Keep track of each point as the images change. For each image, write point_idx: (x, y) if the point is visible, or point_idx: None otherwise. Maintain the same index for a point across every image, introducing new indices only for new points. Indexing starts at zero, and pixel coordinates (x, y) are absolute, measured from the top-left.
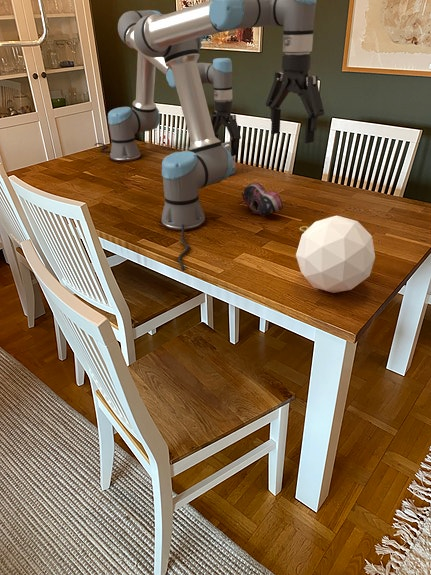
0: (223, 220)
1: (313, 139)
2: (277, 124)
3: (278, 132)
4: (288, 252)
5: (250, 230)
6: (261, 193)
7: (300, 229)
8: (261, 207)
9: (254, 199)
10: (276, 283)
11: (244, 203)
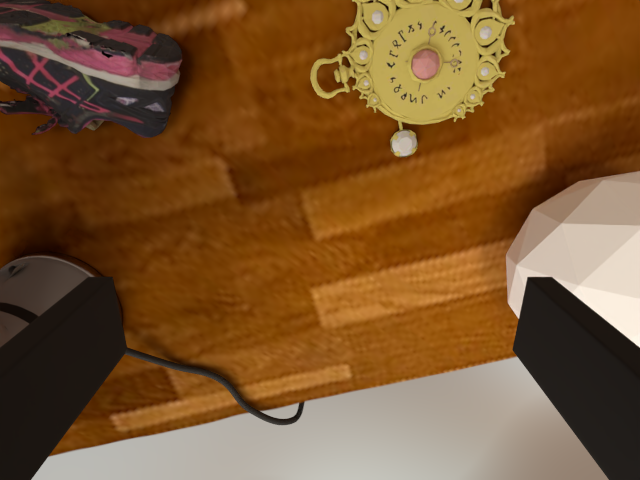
0: (104, 215)
1: (563, 288)
2: (72, 355)
3: (113, 293)
4: (383, 204)
5: (210, 196)
6: (45, 56)
7: (325, 96)
8: (148, 128)
9: (87, 120)
10: (464, 318)
11: (53, 123)
